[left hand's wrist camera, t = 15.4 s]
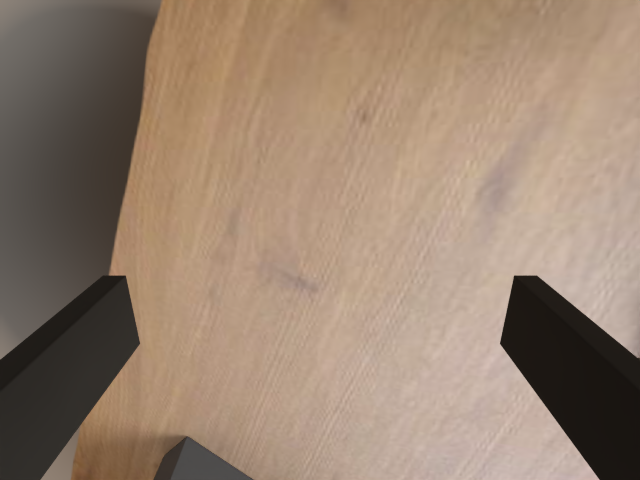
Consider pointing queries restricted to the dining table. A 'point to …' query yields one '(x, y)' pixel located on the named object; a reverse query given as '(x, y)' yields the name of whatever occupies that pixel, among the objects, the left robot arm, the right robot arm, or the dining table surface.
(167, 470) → the bar
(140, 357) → the dining table surface
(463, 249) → the dining table surface
